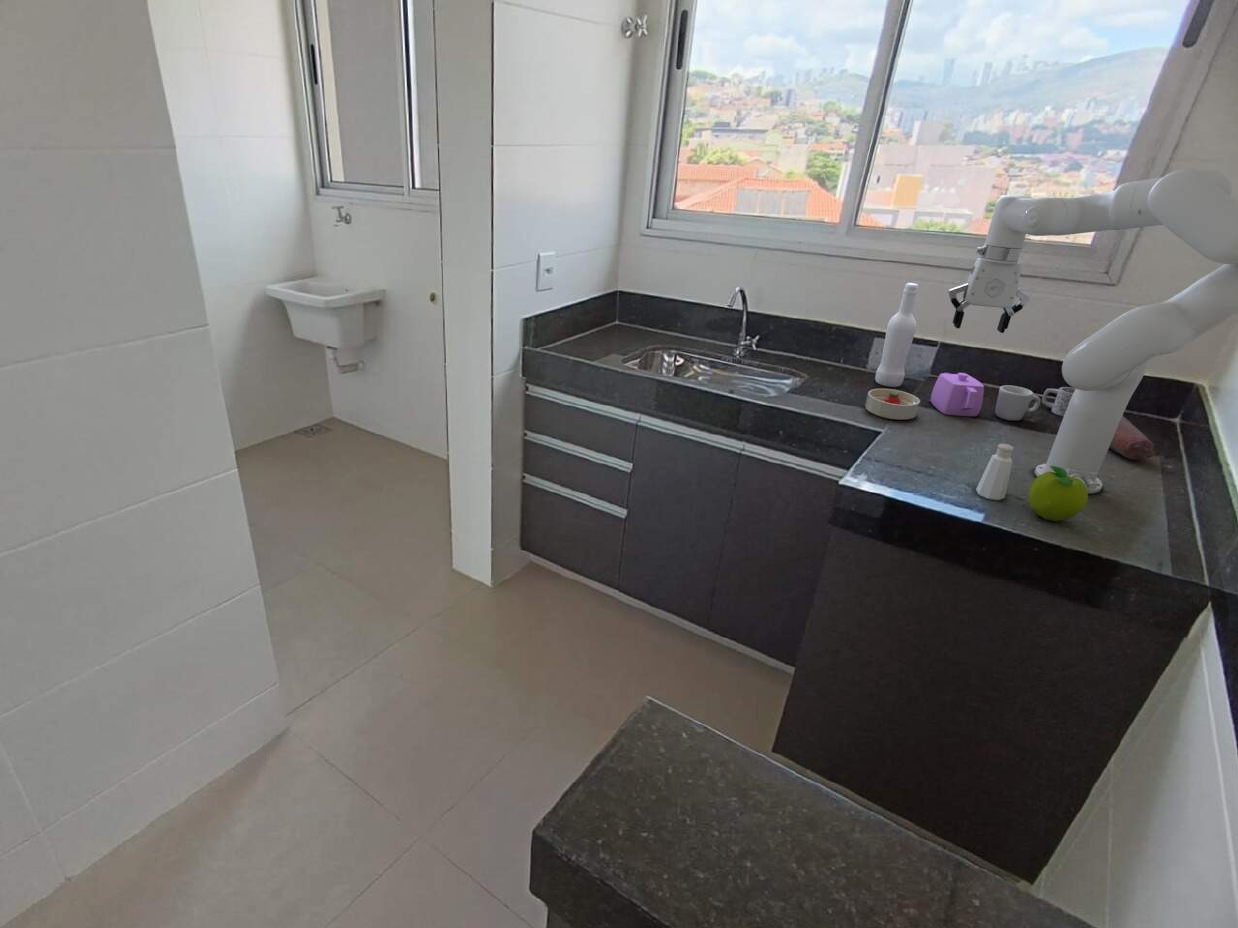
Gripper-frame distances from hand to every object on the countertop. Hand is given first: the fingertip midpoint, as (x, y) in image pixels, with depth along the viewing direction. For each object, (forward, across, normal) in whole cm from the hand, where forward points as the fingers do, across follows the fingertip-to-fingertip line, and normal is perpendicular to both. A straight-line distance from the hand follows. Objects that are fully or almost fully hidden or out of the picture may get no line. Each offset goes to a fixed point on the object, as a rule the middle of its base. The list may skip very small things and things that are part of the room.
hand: (978, 329), depth 156 cm
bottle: (+26, -10, +36) cm, 46 cm away
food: (+26, +38, +4) cm, 47 cm away
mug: (+26, +35, +28) cm, 52 cm away
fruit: (+26, +10, -42) cm, 51 cm away
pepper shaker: (+26, +1, -35) cm, 44 cm away
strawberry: (+26, -13, +9) cm, 30 cm away
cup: (+26, +20, +17) cm, 37 cm away
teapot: (+26, +5, +19) cm, 33 cm away
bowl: (+26, -13, +9) cm, 31 cm away
